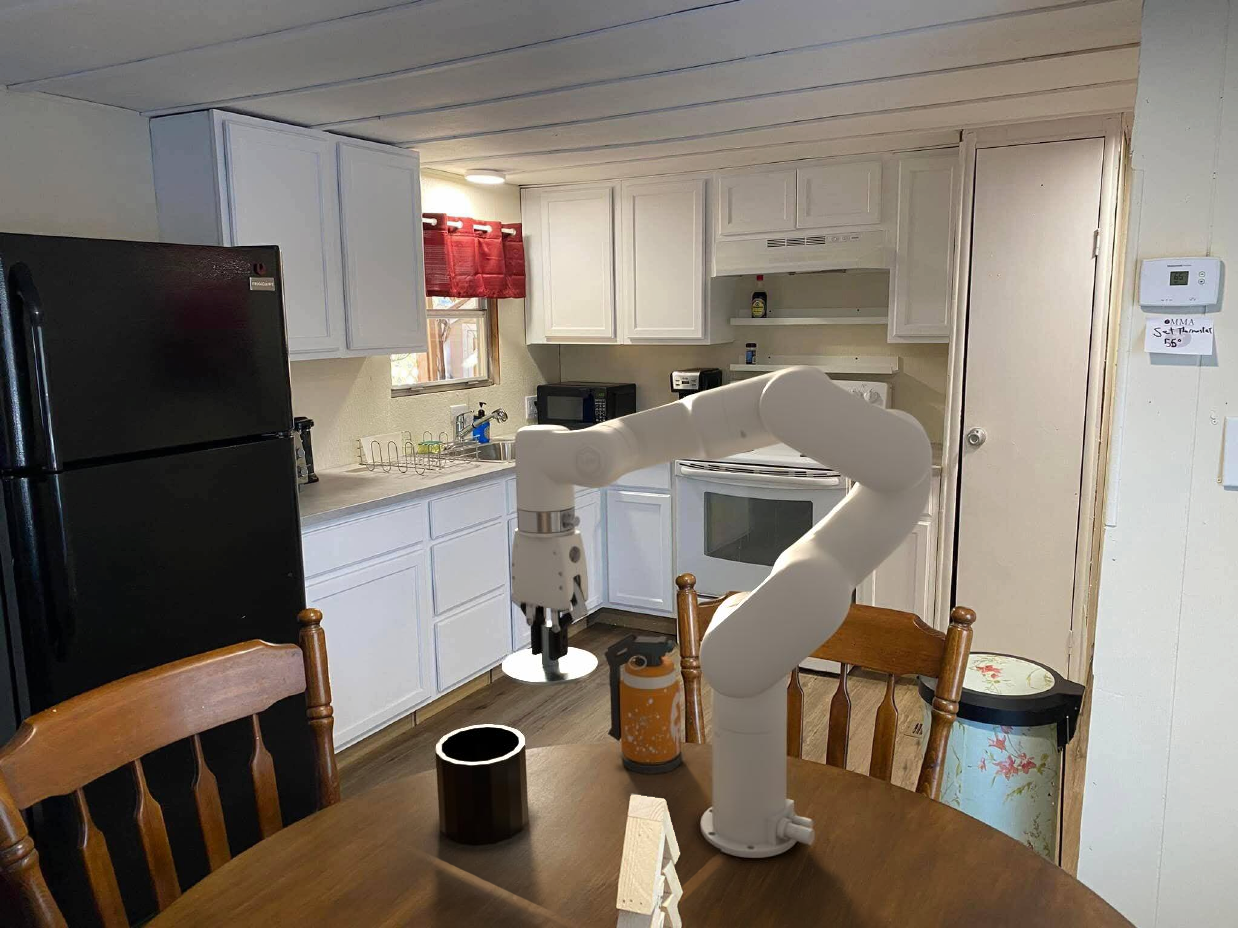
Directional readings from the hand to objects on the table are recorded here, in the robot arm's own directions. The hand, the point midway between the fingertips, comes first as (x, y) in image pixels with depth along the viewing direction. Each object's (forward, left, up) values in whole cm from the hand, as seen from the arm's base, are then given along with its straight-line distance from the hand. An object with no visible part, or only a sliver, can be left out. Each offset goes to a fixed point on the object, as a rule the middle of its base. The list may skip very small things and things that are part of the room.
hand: (549, 653), depth 122 cm
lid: (0, 0, -2) cm, 2 cm away
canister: (-3, -18, -22) cm, 29 cm away
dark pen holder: (+5, +8, -22) cm, 24 cm away
